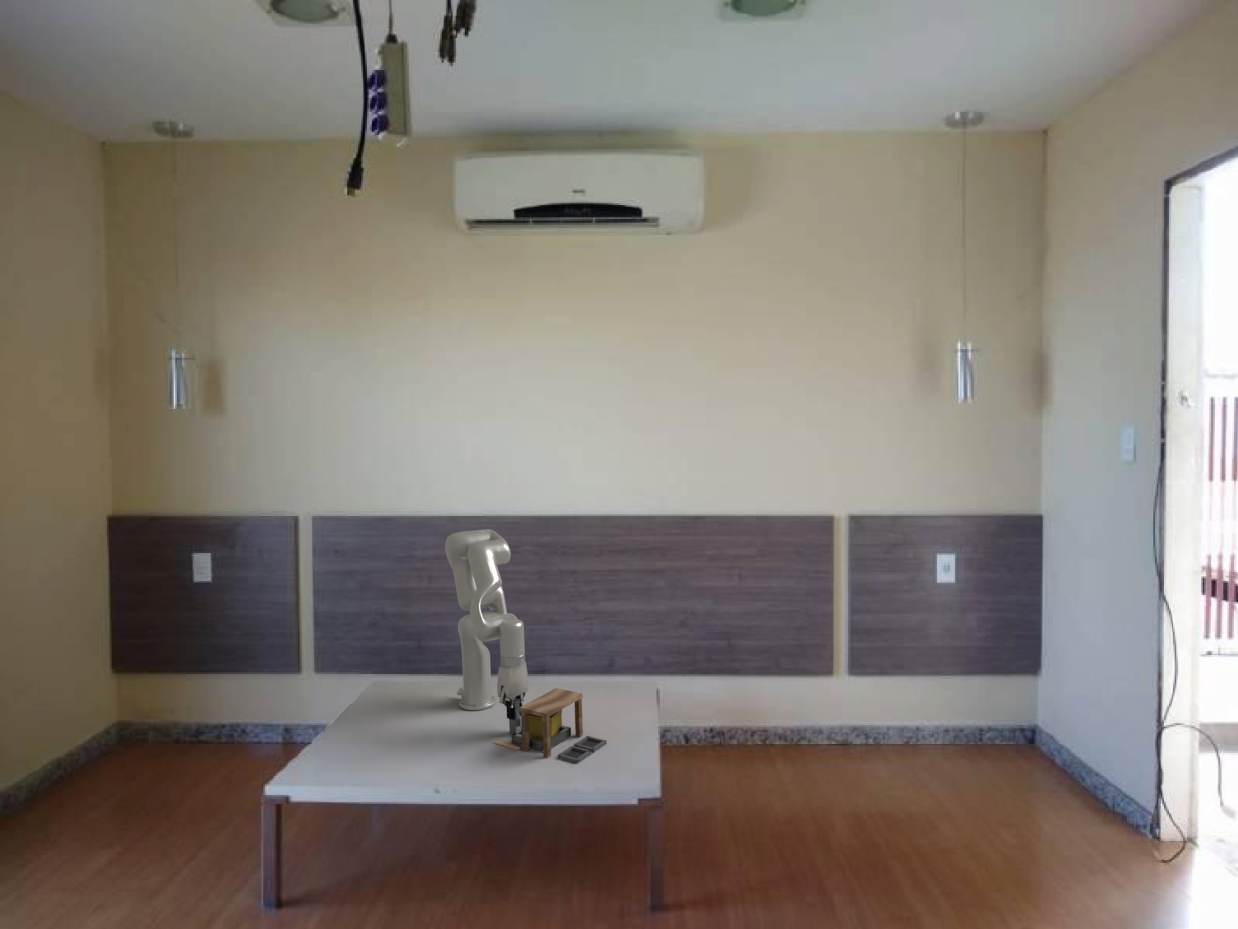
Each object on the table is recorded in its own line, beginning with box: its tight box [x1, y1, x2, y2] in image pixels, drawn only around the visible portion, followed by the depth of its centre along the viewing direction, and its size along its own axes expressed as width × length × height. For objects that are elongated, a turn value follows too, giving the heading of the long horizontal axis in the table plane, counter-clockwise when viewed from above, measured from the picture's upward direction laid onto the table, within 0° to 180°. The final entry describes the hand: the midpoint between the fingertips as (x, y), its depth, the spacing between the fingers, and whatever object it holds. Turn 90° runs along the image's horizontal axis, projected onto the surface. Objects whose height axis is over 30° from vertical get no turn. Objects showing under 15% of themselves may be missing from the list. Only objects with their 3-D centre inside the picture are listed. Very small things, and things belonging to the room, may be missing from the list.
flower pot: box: [529, 709, 563, 741], centre depth 231 cm, size 9×9×9 cm
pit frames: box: [557, 735, 607, 765], centre depth 224 cm, size 7×15×1 cm, turn 147°
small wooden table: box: [520, 687, 584, 758], centre depth 229 cm, size 10×18×13 cm, turn 147°
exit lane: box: [492, 740, 522, 751], centre depth 235 cm, size 10×18×1 cm, turn 147°
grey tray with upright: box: [508, 698, 572, 752], centre depth 233 cm, size 18×13×10 cm
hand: (514, 716), depth 237 cm, fingers closed on grey tray with upright, 2 cm apart
